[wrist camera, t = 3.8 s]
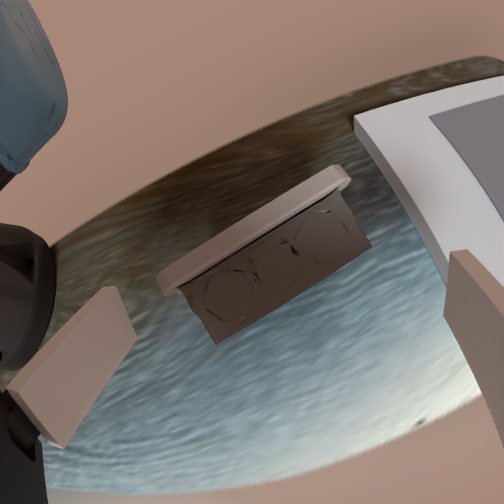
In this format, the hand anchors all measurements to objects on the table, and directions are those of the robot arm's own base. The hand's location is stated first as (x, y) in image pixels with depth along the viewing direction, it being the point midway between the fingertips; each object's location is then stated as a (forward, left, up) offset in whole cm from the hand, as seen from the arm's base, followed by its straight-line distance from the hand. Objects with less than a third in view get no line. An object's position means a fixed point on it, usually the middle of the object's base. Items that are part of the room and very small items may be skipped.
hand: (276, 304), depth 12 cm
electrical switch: (-2, +3, -9) cm, 9 cm away
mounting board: (+13, +17, -8) cm, 23 cm away
